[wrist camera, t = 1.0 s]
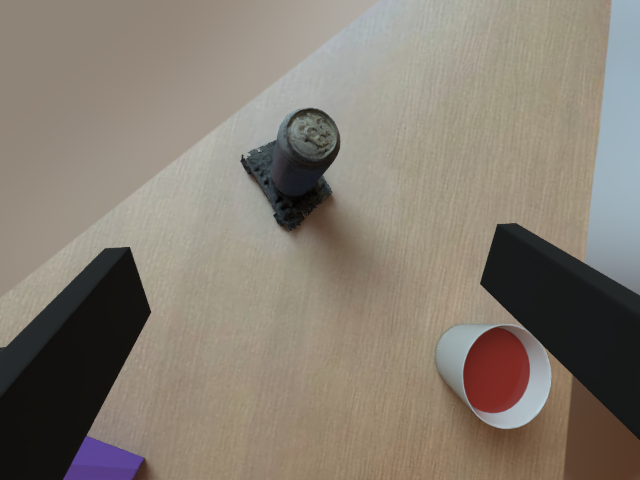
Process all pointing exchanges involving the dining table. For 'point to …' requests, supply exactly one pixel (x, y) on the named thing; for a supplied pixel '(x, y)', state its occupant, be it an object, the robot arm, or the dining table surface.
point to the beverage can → (296, 164)
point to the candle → (496, 371)
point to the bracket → (102, 462)
